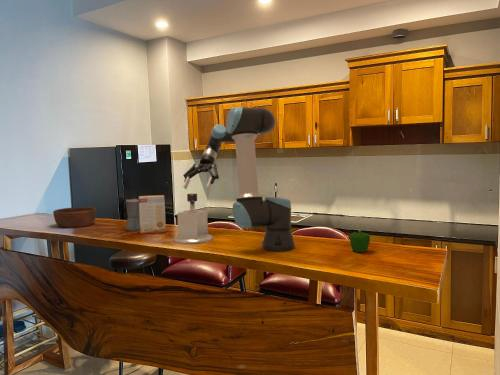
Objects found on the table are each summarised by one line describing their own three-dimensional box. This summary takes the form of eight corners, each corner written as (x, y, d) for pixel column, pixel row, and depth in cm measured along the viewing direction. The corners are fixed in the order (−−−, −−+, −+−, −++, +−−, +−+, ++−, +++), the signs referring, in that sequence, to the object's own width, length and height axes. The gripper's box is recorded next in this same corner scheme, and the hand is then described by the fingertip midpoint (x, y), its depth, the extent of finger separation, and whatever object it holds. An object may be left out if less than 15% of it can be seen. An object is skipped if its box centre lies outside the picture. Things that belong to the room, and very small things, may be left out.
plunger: (204, 235, 191) (203, 193, 189) (196, 238, 183) (195, 194, 182) (190, 234, 194) (188, 193, 192) (181, 237, 186) (180, 194, 184)
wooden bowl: (75, 221, 251) (74, 206, 251) (105, 222, 244) (104, 207, 243) (44, 228, 228) (43, 211, 227) (76, 229, 220) (76, 212, 219)
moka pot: (141, 231, 212) (140, 197, 210) (117, 230, 215) (115, 196, 213) (149, 228, 221) (147, 195, 219) (125, 227, 224) (124, 195, 222)
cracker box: (165, 230, 213) (164, 194, 212) (165, 232, 208) (164, 195, 206) (140, 232, 210) (139, 195, 208) (140, 234, 204) (138, 196, 202)
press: (219, 236, 195) (218, 209, 194) (201, 245, 176) (200, 215, 175) (185, 234, 202) (185, 208, 200) (165, 242, 183) (164, 213, 182)
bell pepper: (354, 248, 167) (354, 226, 166) (372, 250, 161) (372, 228, 161) (346, 251, 160) (346, 229, 159) (364, 254, 155) (365, 231, 154)
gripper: (231, 163, 203) (220, 192, 190) (190, 163, 211) (178, 192, 198) (227, 153, 197) (215, 183, 184) (186, 154, 206) (172, 182, 193)
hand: (196, 187), depth 191 cm, fingers open, 13 cm apart
